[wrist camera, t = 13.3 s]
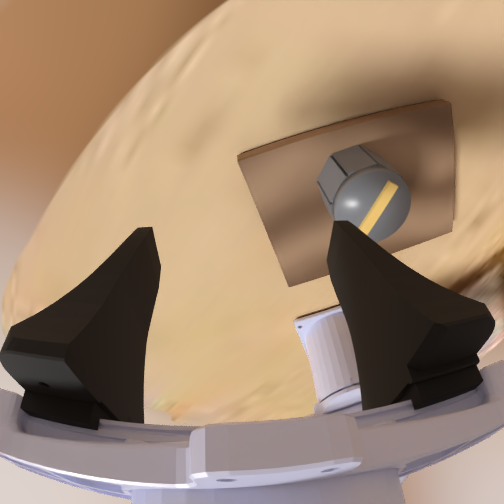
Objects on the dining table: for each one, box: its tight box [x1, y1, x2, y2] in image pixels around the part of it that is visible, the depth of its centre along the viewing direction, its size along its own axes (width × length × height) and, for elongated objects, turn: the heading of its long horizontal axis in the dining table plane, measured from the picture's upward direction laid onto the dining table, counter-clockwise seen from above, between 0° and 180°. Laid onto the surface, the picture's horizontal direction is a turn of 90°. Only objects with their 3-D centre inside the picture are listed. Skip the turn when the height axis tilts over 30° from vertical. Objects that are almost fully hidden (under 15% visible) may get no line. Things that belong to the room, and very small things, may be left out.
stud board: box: [237, 99, 455, 287], centre depth 21 cm, size 12×16×4 cm
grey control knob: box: [317, 145, 411, 242], centre depth 19 cm, size 5×5×4 cm
